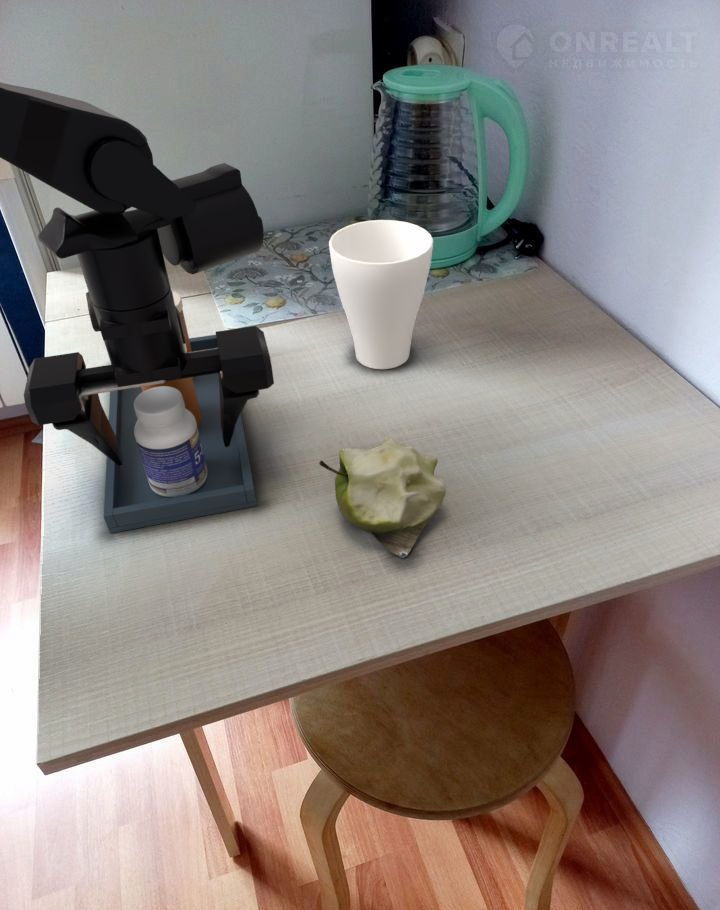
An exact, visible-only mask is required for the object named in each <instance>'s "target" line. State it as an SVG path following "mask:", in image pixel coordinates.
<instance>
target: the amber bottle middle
mask: <svg viewBox="0 0 720 910" xmlns="http://www.w3.org/2000/svg"><path fill="white" fill-rule="evenodd" d="M184 349H185V353H187V347H186V343H185V344H184ZM160 386H168V387H173V388H176V389H177V390H179V391H180V392H181V394H182V397H183V400H184V404H185V409H187V410H189V411H190V412H191V413H192V414H193V416H194V417H195V420H196V423H197V427H198V426H199V424H200V422H201V414H200V410H199V405H198V401H197V396H196V392H195V387H194V383H193V379H192V377H190V378H183V379H177V380H170V381H166V382H165V383H162V384H155V385H149V386H142V387H141V388H142V392H144V391H146V390H148V389H151V388H154V387H160Z"/></svg>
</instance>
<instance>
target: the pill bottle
mask: <svg viewBox="0 0 720 910" xmlns="http://www.w3.org/2000/svg"><path fill="white" fill-rule="evenodd" d="M134 409H135V413H136V416H137V419H138V421H137V422H136V424H135V427H134V435H135V439H136V442H137V445H138V448H139V452H140V455H141V458H142V461H143V465H144V468H145V471H146V475H147V478H148V482H149V485H150V487H151V489H152V490H153V491H154V492H155V493H157V494H159V495H161V496H165V497H179V496H184V495H188V494H190V493H192V492H194V491H196V490H197V489H199V488H200V487H201V486H202V485H203V483H204V482H205V480H206V478H207V466H206V462H205V458H204V454H203V449H202V445H201V441H200V436H199V432H198V427H197V423H196V420H195V417H194V416H193V414H192V413H191V412H190V411H189V410H187V409H185V404H184V400H183V397H182V394H181V392H180V391H179V390H177V389H176V388H173V387H168V386H160V387H154V388H151V389H148V390H146V391H144V392H142V393H140V394H139V395H138V396H137V397H136V399H135V401H134Z"/></svg>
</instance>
